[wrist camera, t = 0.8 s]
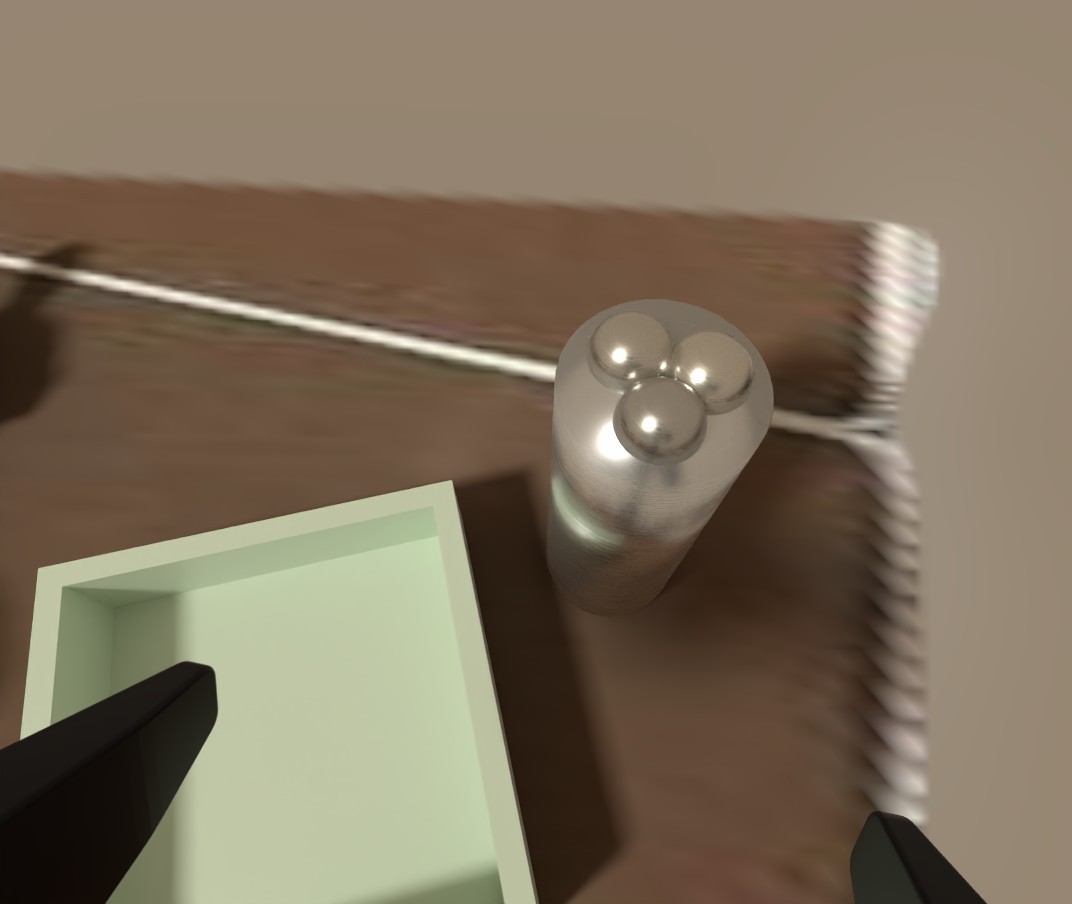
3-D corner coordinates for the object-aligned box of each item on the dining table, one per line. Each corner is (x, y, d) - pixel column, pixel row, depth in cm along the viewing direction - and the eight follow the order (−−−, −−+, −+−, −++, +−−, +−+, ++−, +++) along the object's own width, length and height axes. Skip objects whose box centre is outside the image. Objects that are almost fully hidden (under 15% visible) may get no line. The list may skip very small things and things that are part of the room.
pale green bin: (543, 924, 20) (545, 951, 17) (74, 1062, 18) (-21, 1119, 15) (461, 516, 26) (451, 480, 23) (102, 595, 24) (38, 568, 21)
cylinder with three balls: (688, 599, 24) (829, 434, 13) (563, 630, 24) (591, 486, 12) (648, 485, 26) (738, 253, 15) (533, 510, 26) (532, 291, 14)
